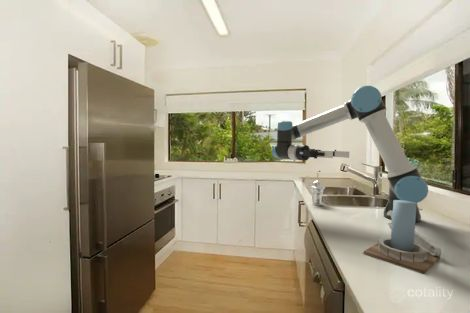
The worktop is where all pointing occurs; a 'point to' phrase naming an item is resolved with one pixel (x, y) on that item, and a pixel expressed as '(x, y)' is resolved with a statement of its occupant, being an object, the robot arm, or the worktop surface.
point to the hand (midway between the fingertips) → (341, 154)
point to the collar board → (403, 263)
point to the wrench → (422, 241)
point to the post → (403, 225)
